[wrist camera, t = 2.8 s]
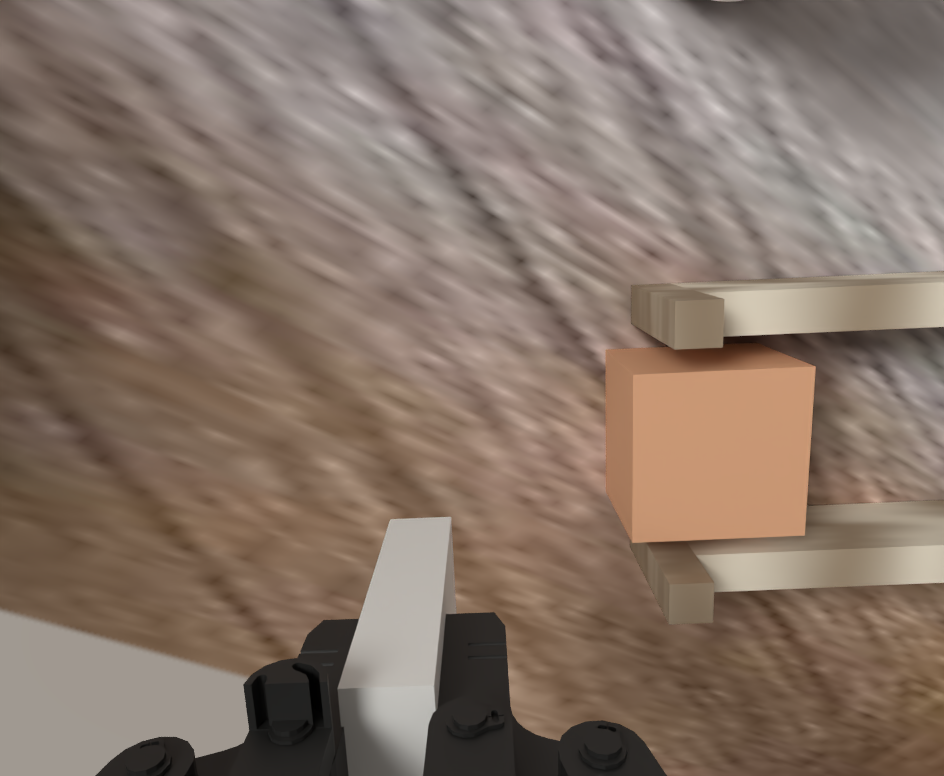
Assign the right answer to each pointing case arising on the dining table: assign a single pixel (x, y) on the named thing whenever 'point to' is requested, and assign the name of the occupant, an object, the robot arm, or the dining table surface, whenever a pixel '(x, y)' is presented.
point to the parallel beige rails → (827, 526)
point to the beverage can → (727, 0)
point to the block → (708, 442)
